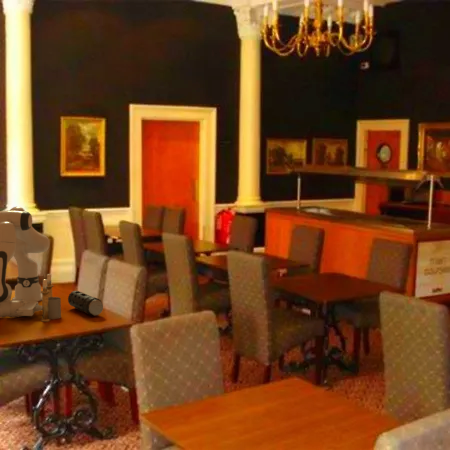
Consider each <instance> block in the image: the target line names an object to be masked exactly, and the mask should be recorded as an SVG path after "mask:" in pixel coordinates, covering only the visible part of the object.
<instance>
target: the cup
mask: <svg viewBox="0 0 450 450" xmlns="http://www.w3.org/2000/svg"><path fill="white" fill-rule="evenodd" d="M61 303H62V301H61V297H58V296H52V297H49V298H48V312H49V318H50V320H56V319H60V318H62V310H61V309H62V308H61V307H62V304H61Z"/></svg>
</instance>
